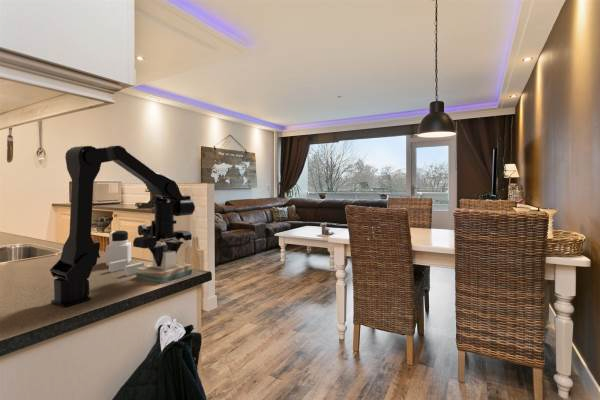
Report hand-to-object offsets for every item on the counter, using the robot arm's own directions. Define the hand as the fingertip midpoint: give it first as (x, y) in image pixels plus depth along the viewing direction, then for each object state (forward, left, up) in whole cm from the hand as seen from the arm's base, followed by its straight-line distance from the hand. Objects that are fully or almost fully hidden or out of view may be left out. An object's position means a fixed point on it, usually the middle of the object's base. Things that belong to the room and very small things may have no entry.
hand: (164, 264), depth 106 cm
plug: (0, 0, -2) cm, 2 cm away
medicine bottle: (+3, +27, -4) cm, 28 cm away
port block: (0, 0, -4) cm, 4 cm away
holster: (-3, +14, -4) cm, 15 cm away
